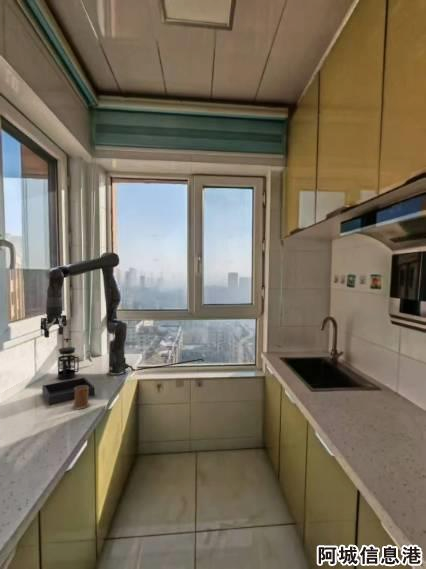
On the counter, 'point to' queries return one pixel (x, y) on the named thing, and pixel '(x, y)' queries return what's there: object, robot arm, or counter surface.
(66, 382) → the dark square tray
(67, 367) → the french press
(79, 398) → the brown cup
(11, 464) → the counter surface
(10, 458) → the counter surface
